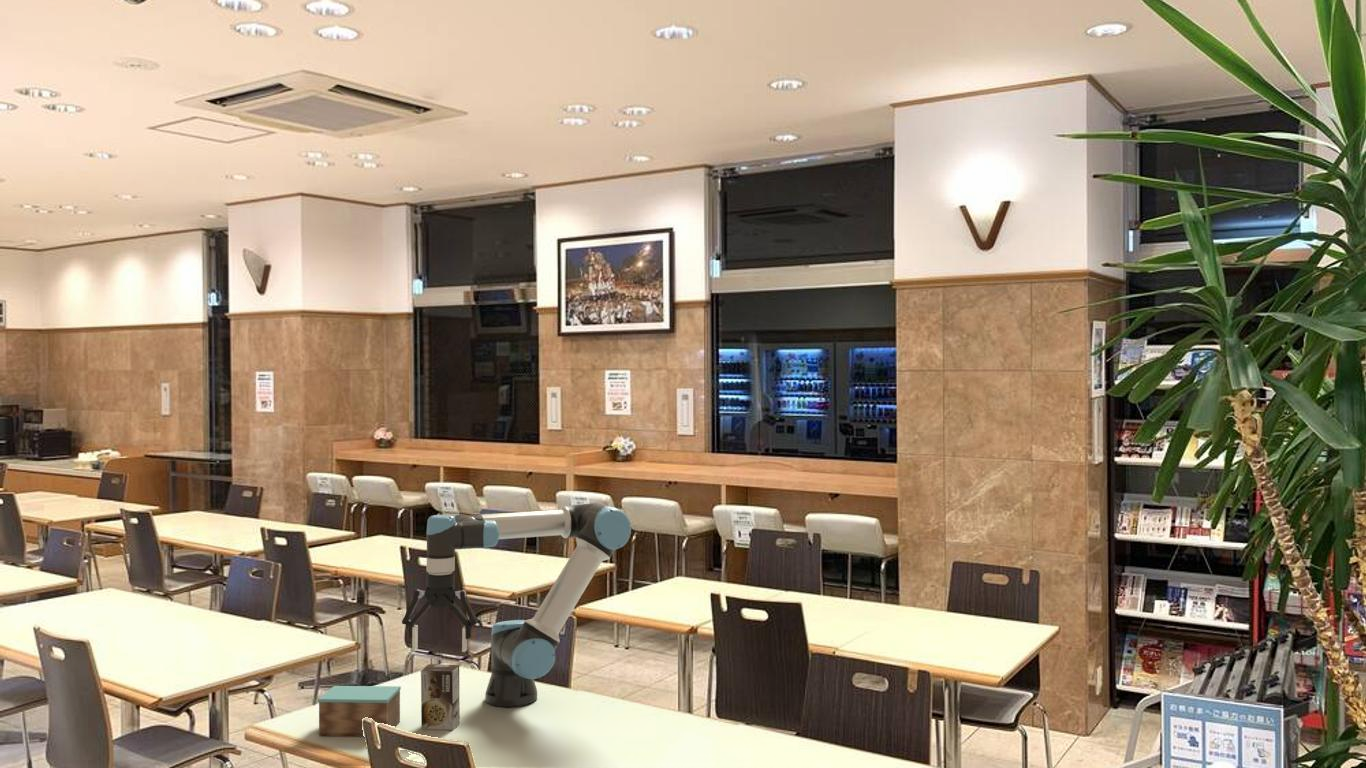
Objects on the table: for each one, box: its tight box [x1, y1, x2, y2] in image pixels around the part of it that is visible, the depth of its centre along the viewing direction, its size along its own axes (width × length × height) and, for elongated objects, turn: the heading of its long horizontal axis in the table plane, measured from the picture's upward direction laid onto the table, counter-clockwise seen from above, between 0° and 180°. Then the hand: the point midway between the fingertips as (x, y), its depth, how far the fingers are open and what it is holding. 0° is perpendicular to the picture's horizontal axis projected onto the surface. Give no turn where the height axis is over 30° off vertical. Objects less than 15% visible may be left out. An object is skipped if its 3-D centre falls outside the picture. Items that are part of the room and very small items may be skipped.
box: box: [318, 690, 401, 738], centre depth 283 cm, size 18×12×9 cm, turn 89°
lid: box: [317, 685, 401, 703], centre depth 283 cm, size 18×12×1 cm
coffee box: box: [420, 663, 461, 731], centre depth 286 cm, size 9×6×16 cm
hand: (439, 650), depth 285 cm, fingers open, 13 cm apart
